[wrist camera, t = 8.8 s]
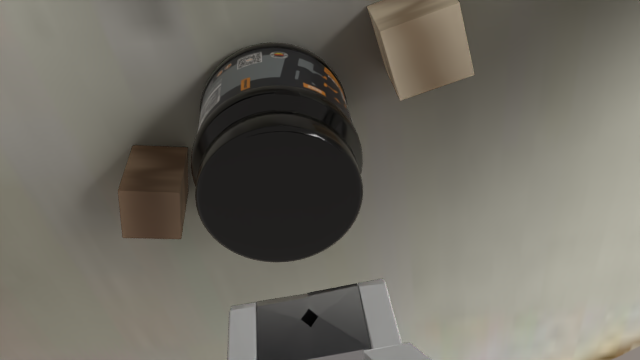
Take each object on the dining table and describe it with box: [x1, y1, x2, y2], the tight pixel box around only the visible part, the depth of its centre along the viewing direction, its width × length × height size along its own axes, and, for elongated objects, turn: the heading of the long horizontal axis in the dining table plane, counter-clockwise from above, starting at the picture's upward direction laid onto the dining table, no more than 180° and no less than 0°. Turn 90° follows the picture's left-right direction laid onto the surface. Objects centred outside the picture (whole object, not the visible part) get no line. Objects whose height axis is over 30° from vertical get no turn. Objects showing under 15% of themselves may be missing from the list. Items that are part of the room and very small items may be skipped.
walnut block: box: [118, 145, 188, 239], centre depth 43 cm, size 4×4×6 cm
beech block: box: [367, 0, 474, 101], centre depth 39 cm, size 5×5×5 cm
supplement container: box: [191, 43, 363, 262], centre depth 38 cm, size 10×10×12 cm
